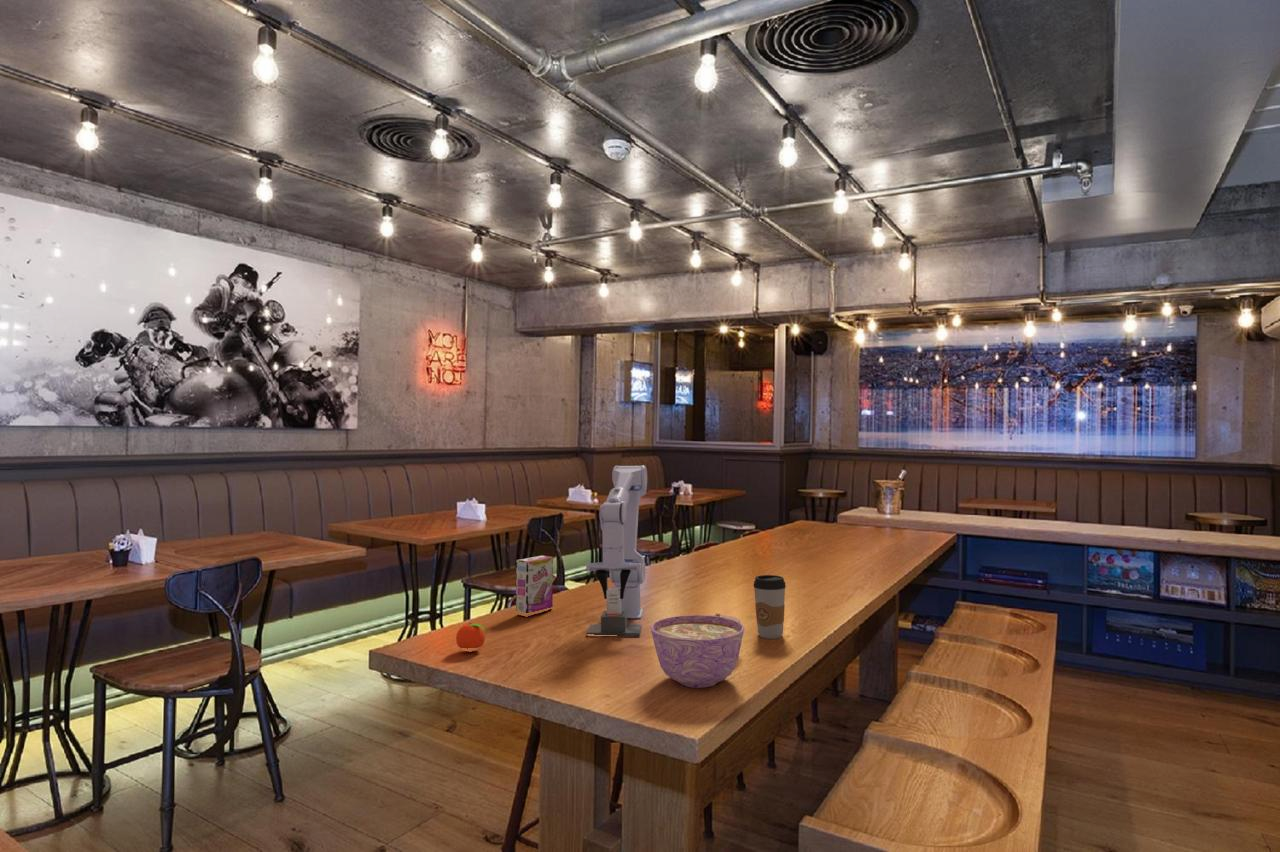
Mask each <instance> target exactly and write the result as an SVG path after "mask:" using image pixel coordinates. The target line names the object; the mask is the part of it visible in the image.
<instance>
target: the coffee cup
mask: <svg viewBox="0 0 1280 852" xmlns="http://www.w3.org/2000/svg"><path fill="white" fill-rule="evenodd" d="M786 587H787V585H786V581H785V578H784V576H781V575H775V574H772V575H771V574H762V575H757V576H755V578H754V581H753V590H754V600H755V602H754V603H755V604H754V605H755V614H756V615H755V617H756V624H757V627H756V628H757V634H758V636H759V637H761V638H763V639H770V640H771V639H773V640H775V639H780V638H782V636H783V635H784V623H785V622H784V621H785V607H786V605H785V594H786Z"/></svg>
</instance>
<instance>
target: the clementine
mask: <svg viewBox="0 0 1280 852" xmlns="http://www.w3.org/2000/svg"><path fill="white" fill-rule="evenodd" d="M486 635H488V634H487V630H486V629H485V627H483V626H482V625H480V624H478V623H475V622H474V623H473V622H469V623H466V624H464V625H462V626H461V627H460V628H459V629H458V631H457V632H456V635H455V640H456V641H455V642H456V644H457V647H458V648H459V647H460V648H467V649H468V648H478V647H481V646H482V647H483V645H484V643H485V639H486ZM482 647H481V648H482ZM460 648H459V649H460Z"/></svg>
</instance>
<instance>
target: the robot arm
mask: <svg viewBox="0 0 1280 852" xmlns="http://www.w3.org/2000/svg"><path fill="white" fill-rule="evenodd" d="M611 475H612V477H611V478H612V479H611V480H612V483H613V488H612V489H610V490H609V493H608V496H607V498H606V501H605V502H603V504H600V507H599V513H598V514H599V522H600V530H601V531H602V561H601V562H600V561H599V562H586V564H585V568H586V570H585V572H596V574H595V575H596V578H597V579H598V581H599V584H600V586H601V589H602V593H603V597H604V600H607V595H606V590H607V588H608V575H609V580H610V582H611V583H612V584H613V586H614V587H621V590H620V599H621V600H622V611H627V619H641V618H642V616H643V611H644V609H643V608H641V585H642V584H644V582H645V580H646V560H645V557H644V556H643V555H642V554H641V553H639V552H638V551H637V542H638V526H639V510H640V509H639V507H640V502H641V498H642V497H644V496H646V493H647V490H648V488H647V487H648V469H647V467H646V465H644V464H643V465H615V466H614V467H613V468H612V472H611ZM608 572H609V574H608Z"/></svg>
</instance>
